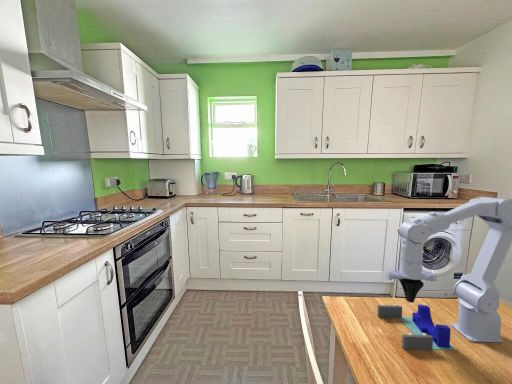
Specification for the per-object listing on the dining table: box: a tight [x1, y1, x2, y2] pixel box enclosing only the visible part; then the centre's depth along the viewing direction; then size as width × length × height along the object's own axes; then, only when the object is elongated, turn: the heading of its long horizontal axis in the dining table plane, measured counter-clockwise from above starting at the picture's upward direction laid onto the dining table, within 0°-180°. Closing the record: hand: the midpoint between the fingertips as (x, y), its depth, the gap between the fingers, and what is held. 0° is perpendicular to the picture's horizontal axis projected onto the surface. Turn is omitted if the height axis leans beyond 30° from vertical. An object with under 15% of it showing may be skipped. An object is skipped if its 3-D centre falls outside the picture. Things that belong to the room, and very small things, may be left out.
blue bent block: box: [411, 304, 452, 348], centre depth 72 cm, size 12×4×6 cm, turn 169°
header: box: [376, 303, 434, 352], centre depth 73 cm, size 8×16×5 cm, turn 177°
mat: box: [398, 316, 457, 351], centre depth 73 cm, size 8×15×1 cm, turn 177°
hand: (409, 300), depth 73 cm, fingers closed
